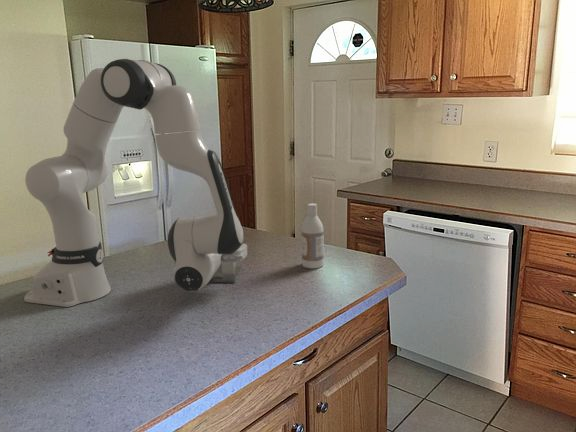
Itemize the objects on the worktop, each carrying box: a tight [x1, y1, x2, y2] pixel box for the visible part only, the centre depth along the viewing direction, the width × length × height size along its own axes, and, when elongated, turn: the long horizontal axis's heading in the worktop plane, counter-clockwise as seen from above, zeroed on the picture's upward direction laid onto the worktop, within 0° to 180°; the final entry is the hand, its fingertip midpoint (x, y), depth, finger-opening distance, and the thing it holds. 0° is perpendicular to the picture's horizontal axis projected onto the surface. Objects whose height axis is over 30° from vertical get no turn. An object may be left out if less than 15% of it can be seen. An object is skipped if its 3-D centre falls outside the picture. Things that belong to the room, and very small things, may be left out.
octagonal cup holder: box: [208, 262, 244, 284], centre depth 151 cm, size 12×12×6 cm
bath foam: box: [300, 202, 325, 270], centre depth 156 cm, size 7×7×20 cm
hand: (217, 243), depth 149 cm, fingers open, 8 cm apart
